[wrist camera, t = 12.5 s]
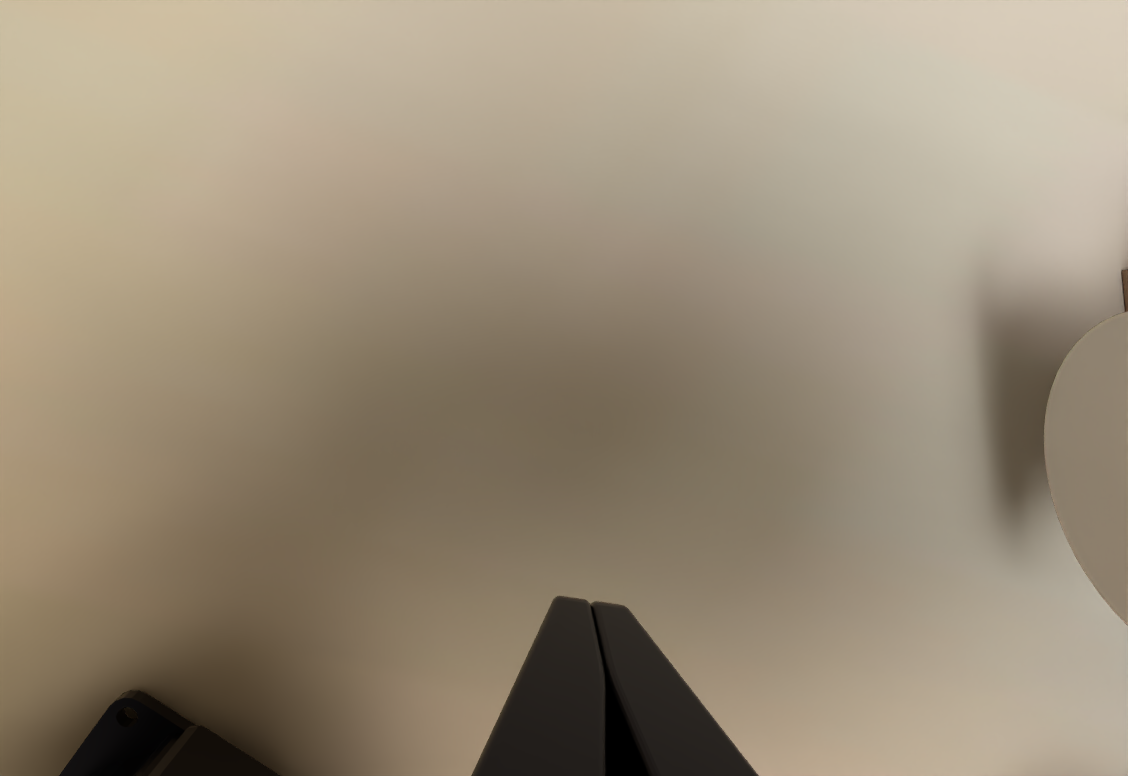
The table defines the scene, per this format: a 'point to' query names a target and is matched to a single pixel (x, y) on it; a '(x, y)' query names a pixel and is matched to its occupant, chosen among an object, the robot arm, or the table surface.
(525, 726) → the robot arm
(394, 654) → the table surface
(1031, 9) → the table surface
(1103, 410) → the grey plunger
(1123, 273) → the panel
